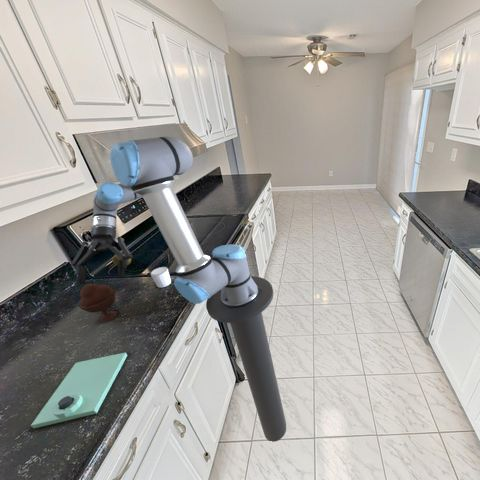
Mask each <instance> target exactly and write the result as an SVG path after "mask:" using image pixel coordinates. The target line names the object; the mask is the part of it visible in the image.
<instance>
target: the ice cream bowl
mask: <svg viewBox="0 0 480 480" xmlns="http://www.w3.org/2000/svg"><path fill="white" fill-rule="evenodd" d="M79 295H80V299H79V302H78V305H77V307H78V308H79V309H81V310H82V311H84V312H88V313H94V314H95V313H101V312H102V315H101V316H100V317H99V322H101V323H106V322H110V321H111V320H113V319H115V317H116V316H118V312H117V311H115V310H111V311H110V310H109V308H110V307H111V306H112V305H113V304H114V303H115V301H116V296H117V292H116V290H115V289H114V288H112V287H110V286H109V285H107V284H96V283H87V284H84V286H82V287H81V288H80V290H79Z"/></svg>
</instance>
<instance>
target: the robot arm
mask: <svg viewBox="0 0 480 480" xmlns="http://www.w3.org/2000/svg"><path fill="white" fill-rule="evenodd" d="M109 159H110V165H111V168H112V171H113V174H114V176H115V178H116V180H117V181H119V183H115V182H109V181H107V182H103V183H101V184H100V185H99V187H98V188H97V190H96V193H95V194H94V198H93V211H92V223H91V228H92V229H91V241H82V242H81V246H80V248H79V250H78V251H77V253H76V254H75V256H74V257H73V259H72V260H71V262H70V266H72V267H76V269H75V270H76V271H75V275H76V276H77V281H76V282H77V284H81V285H86V281H87V280H86V279H87V267H86V265H87V264H88V263H89V262H90V261H91V260H93V258H94V256H96V254H99V252H100V253H102V252H103V253H104V252H109V251H111V252H112V253H114V254H115V255H117V256H118V257H119V258H120V259H121V260H118V266H117V277H118V278H121V279H122V278H123V279H124V278H125V270H126V269H127V267H128V265H127V260H128V259H131V260H132V259H133V257H134V256H133V255H132V253H131V251H130V250H129V248H128V246H127V245H126V243H125V238H123V237H121V236H118V237H117V215H118V208H119V206H120V205H121V204H125V203H128V202H129V203H130V202H132V201H135V200H138V199H139V200H140V199H142V198H143V200H144V202H145V204H146V206H147V208H148V210H149V212H150V214H151V215H152V218H153V220H154V222H155V223H156V226H157V227H158V229H159V231H160V234H161V235H162V237H163V239H164V241H165V243H166V245H167V247H168V249H169V250H170V253H171V254H172V257H173V258H174V260H175V262H176V264H177V266H176V268H175V273H176V276H177V277H175V279H174V280H173V283H174V284H173V285H174V287H175V289H176V290H177V292H178V293H179V294H180V295H181V296H182V297H183V298H184V299H186V300H187V301H188V302H190V303H192V304H194V305H195V304H196V305H199V304H202V303H204V302H206V301H207V299H209V298H210V297H211V296H212V295H214V294H215V293H217V292H218V291H219V290H221V292H220V294H221V301H222V303H223V304H224V305H225V306H227V307H231V308H237V307H242V306H245V305H247V304H249V303H251V302H252V301H254V300H255V299H256V297H257V296H258V290H260V291H262V289H260V288H258V287H257V285H256V283H255V282H254V281H253V279H252V278H251V276H252V275H251V273H250V268H249V264H248V258H247V254H246V250H245V249H244V247H243V246H242V245H239V244H231V243H230V244H224V245H219V246H217V247H215V248H214V249H213V250H212V252H211V255H212V257H211V256H210V255H208V254H205V253H204V252H203V250H202V247H201V245H200V243H199V241H198V238H197V237H196V234H195V232H194V229H192V225H191V224H190V221H189V219H188V217H187V216H186V213H185V211H184V209H183V207H182V205H181V203H180V200H179V198H178V195H177V194H176V192H175V190H174V188H173V187H174V184H175V182H176V180H175V176H181V175H183V174H185V173H186V172H187V171H189V170H190V168H191V167H192V165H193V162H194V156H193V152H192V151H191V148H190V147H189V146H188V145H187V144H186V143H185V142H184V141H182V140H180V139H178V138H176V137H173V136H159V137H149V138H140V139H129V140H126V141H122V142H117V143H115V144H113V146H112V147H111V149H110V153H109ZM116 237H117V238H116ZM116 243H117V244H118V246H119V248H120V249H121V251H122V252H121V251H119V249H118V248H117V247H116V246H115V245H116ZM123 254H125V256H124V255H123Z"/></svg>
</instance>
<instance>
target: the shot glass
mask: <svg viewBox="0 0 480 480" xmlns="http://www.w3.org/2000/svg"><path fill="white" fill-rule="evenodd" d="M149 275H150V276H151V278H152V279H153V281H154V283H155V285H156V287H158V288H161V289H162V288H165V287H168V286H170V284H172V279H171V275H170V272H169V268H168V267H166V266H161V267H160V266H159V267H156V268H154V269H153V270H151V271H150V274H149Z"/></svg>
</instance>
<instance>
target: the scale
mask: <svg viewBox="0 0 480 480" xmlns="http://www.w3.org/2000/svg"><path fill="white" fill-rule="evenodd" d="M127 357H128V354H127V351H126V352H121V353H116V354H111V355H106V356H101V357H97V358H92V359H87V360H83V361H78V362H75V363H74V364H73V366H72V367H71V368H70V370H69V372H68V373H67V374H66V376H65V377H64V378H63V379H62V381H61V383H60V384H59V385H58V387H57V388H56V389H55V391H54V392H53V394H52V395H51V397H50V398H49V399H48V401H47V402H46V403H45V405H44V406H43V407H42V409H41V410H40V412H39V413H38V415H37V416H36V418H35V419H34V420H33V421H32V423H31V424H30V427H31V428H33V429H38V428H42V427H46V426H50V425H51V426H52V425H55V424H58V423H59V424H60V423H63V422H67V421H71V420H76V419H79V418H83V417H88V416H92V415H97V414H98V412H99V410H100V408H101V406H102V405H103V403H104V401H105V399H106V397H107V394H108V393H109V392H110V389H111V387H112V385H113V383H114V382H115V380H116V378H117V376H118V374H119V372H120V370H121V369H122V367H123V365H124V363H125V361H126V359H127ZM66 396H70V397H71V398H72V399H73V403H72V404H71V405H70V406H69V407H67V408H65V409H61V408H60V407H59V405H58V402H59V401H60V400H61V399H62V398H64V397H66Z"/></svg>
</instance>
